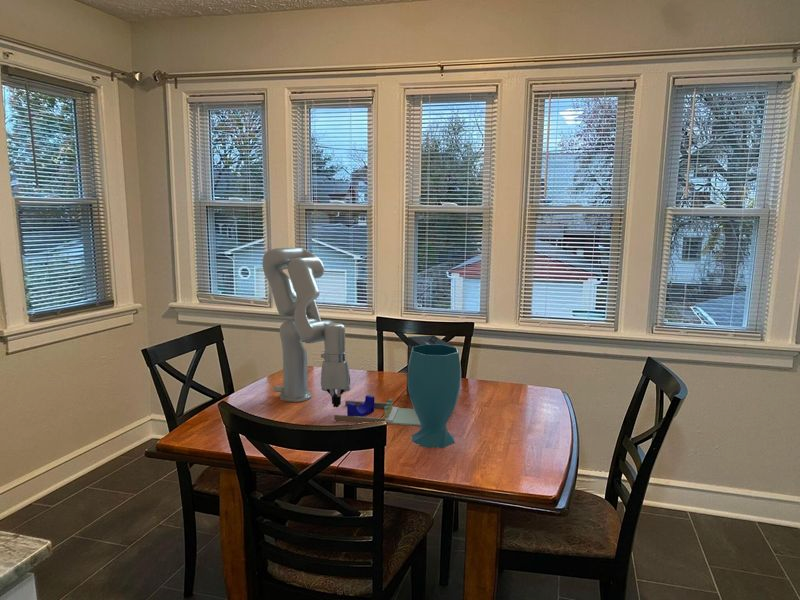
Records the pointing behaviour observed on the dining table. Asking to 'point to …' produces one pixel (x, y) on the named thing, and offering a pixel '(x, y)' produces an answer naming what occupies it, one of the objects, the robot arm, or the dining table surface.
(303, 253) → the robot arm
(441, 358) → the vase
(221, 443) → the dining table surface
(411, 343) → the headset box
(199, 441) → the dining table surface
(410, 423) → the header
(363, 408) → the cable clip
